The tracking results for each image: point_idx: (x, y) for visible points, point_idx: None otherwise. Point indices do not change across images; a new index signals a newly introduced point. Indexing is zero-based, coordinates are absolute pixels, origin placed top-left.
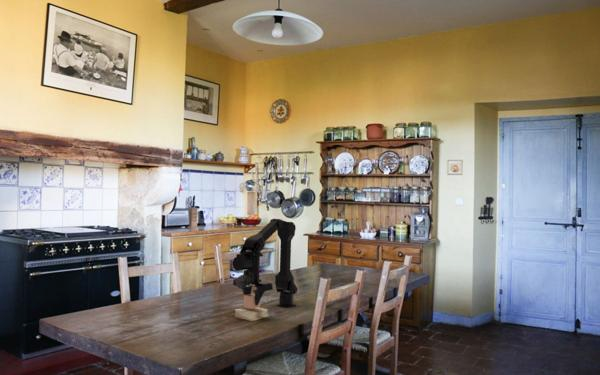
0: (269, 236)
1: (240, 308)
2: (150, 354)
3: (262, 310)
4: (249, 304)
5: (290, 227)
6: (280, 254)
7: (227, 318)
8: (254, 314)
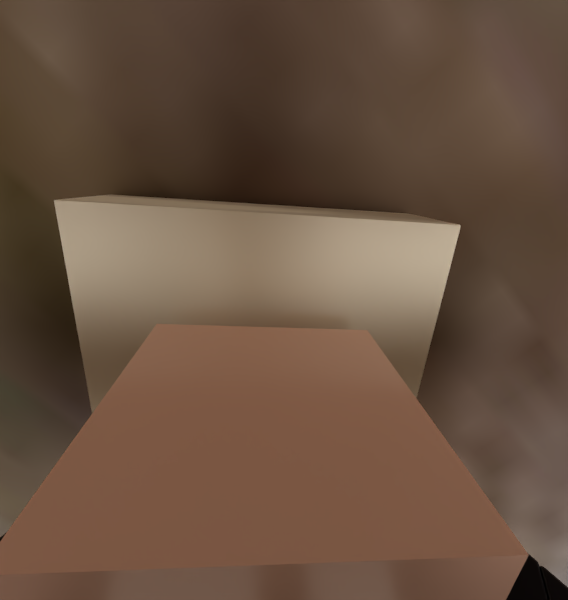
0: None
1: (428, 325)
2: None
3: None
4: (213, 360)
5: None
6: None
7: (452, 99)
8: (76, 260)
